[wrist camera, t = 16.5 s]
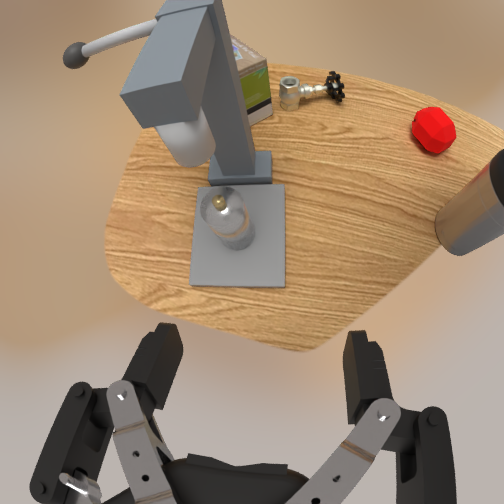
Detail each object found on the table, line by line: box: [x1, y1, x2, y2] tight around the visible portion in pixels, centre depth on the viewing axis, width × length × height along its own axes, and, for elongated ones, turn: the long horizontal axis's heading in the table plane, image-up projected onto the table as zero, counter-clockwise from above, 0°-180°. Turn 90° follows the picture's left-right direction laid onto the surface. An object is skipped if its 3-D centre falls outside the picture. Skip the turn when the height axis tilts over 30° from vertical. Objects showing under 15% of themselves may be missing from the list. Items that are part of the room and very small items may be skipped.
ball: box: [412, 107, 456, 153], centre depth 41 cm, size 8×8×8 cm
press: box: [63, 0, 285, 288], centre depth 30 cm, size 22×22×32 cm
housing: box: [200, 186, 255, 250], centre depth 37 cm, size 5×5×12 cm
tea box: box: [230, 35, 273, 126], centre depth 45 cm, size 15×10×15 cm
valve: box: [279, 71, 345, 111], centre depth 47 cm, size 7×7×12 cm
